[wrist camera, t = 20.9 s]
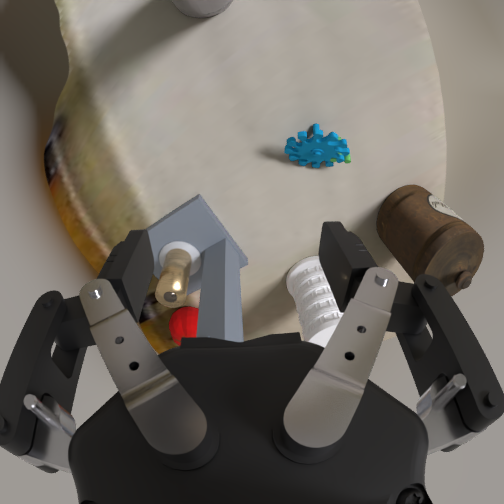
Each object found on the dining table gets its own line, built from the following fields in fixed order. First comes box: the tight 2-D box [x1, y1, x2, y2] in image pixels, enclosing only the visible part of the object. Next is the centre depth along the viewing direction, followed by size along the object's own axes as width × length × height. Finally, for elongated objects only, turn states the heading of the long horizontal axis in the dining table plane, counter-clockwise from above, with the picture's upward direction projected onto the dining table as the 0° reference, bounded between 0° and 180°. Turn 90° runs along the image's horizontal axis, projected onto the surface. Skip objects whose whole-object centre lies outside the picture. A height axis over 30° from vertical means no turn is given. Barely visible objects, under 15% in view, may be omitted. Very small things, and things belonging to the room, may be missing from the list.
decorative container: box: [286, 256, 344, 348], centre depth 52 cm, size 12×12×18 cm
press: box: [146, 194, 248, 342], centre depth 41 cm, size 25×17×35 cm
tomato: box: [169, 307, 199, 346], centre depth 60 cm, size 9×10×8 cm
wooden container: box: [377, 185, 484, 296], centre depth 43 cm, size 15×15×22 cm
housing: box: [155, 248, 192, 308], centre depth 47 cm, size 5×5×10 cm
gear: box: [285, 124, 351, 168], centre depth 41 cm, size 11×6×10 cm
